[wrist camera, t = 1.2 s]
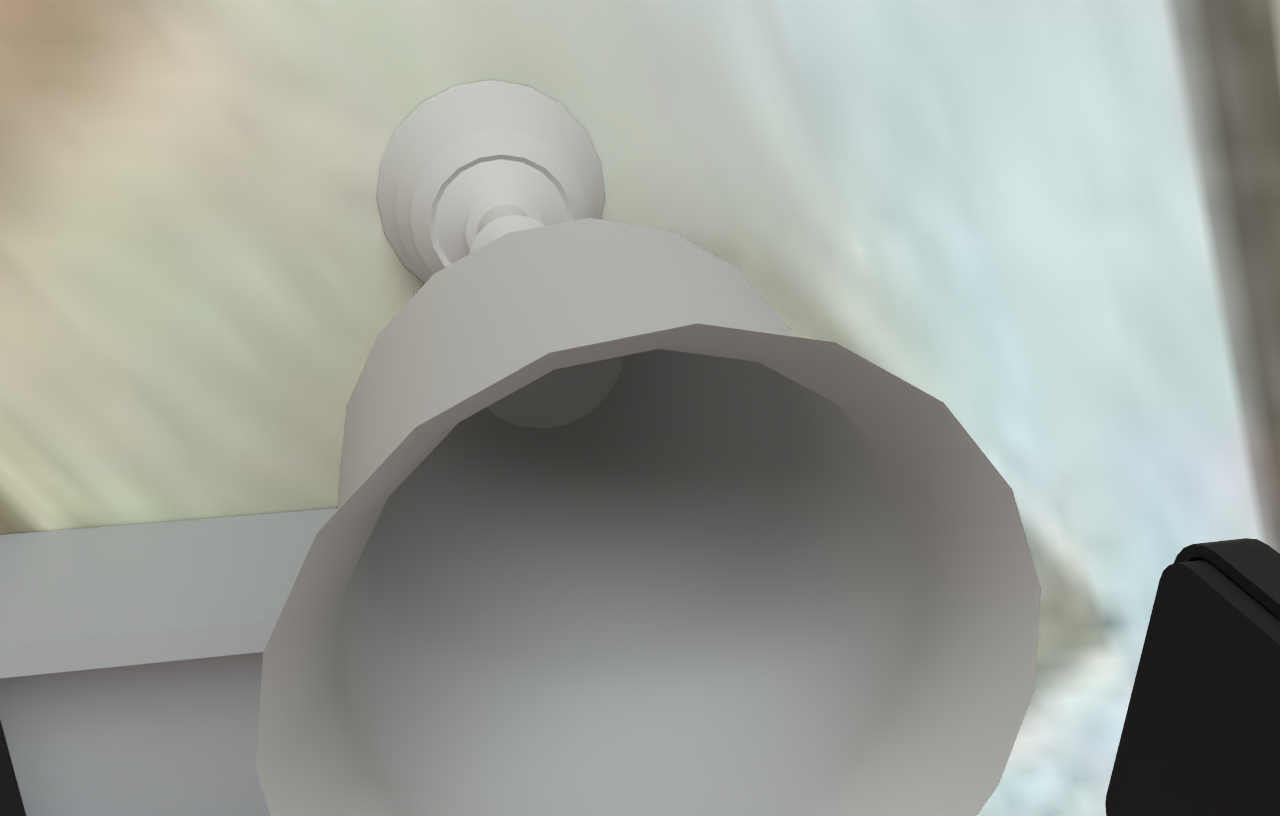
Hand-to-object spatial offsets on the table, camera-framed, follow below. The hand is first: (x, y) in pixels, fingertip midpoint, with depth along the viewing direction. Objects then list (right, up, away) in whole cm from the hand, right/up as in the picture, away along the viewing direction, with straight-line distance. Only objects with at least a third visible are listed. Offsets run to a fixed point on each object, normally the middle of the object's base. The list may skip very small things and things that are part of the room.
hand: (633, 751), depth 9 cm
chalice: (-3, +8, +17) cm, 19 cm away
